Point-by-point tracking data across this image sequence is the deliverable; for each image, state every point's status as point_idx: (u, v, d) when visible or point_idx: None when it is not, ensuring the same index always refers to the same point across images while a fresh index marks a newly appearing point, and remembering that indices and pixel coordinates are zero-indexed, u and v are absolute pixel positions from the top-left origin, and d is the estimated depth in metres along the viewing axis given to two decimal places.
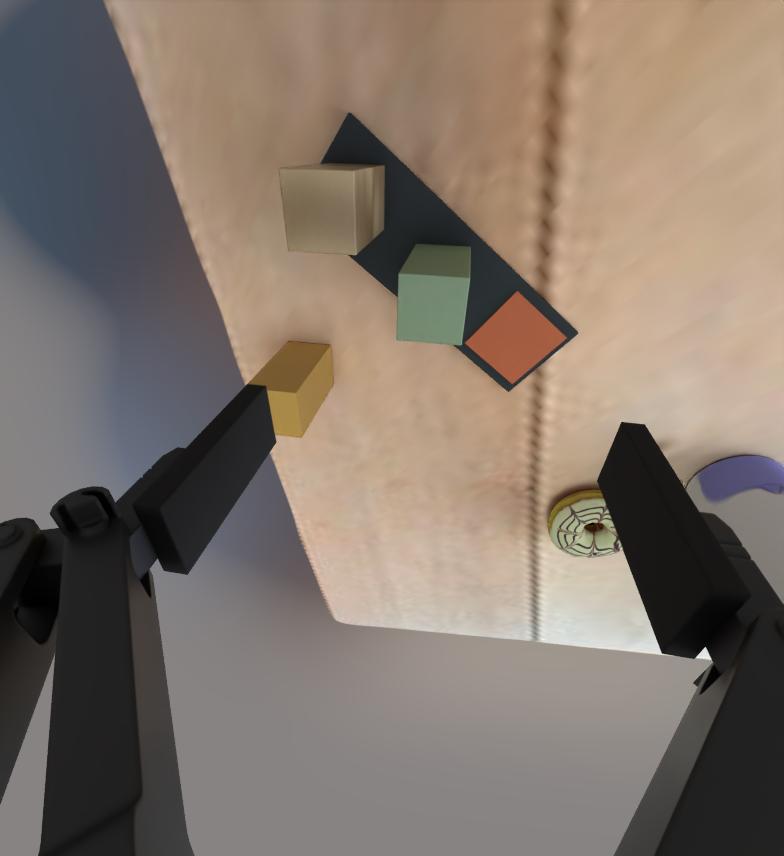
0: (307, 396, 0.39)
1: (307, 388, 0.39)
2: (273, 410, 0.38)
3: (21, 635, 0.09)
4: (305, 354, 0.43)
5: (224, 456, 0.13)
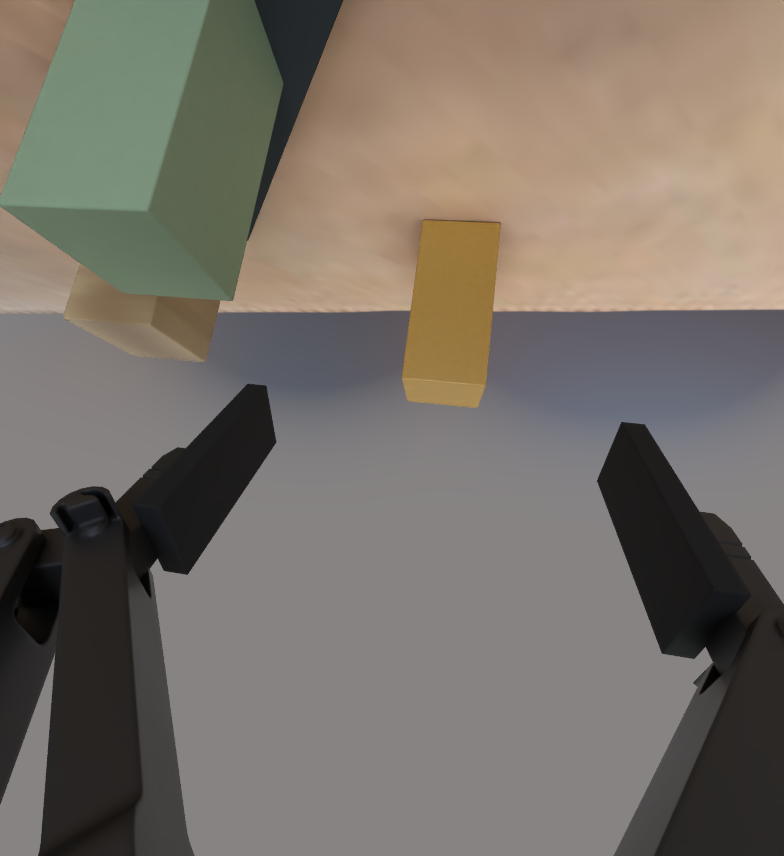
0: (437, 339, 0.25)
1: (424, 335, 0.25)
2: (436, 393, 0.26)
3: (21, 635, 0.09)
4: None
5: (224, 456, 0.13)
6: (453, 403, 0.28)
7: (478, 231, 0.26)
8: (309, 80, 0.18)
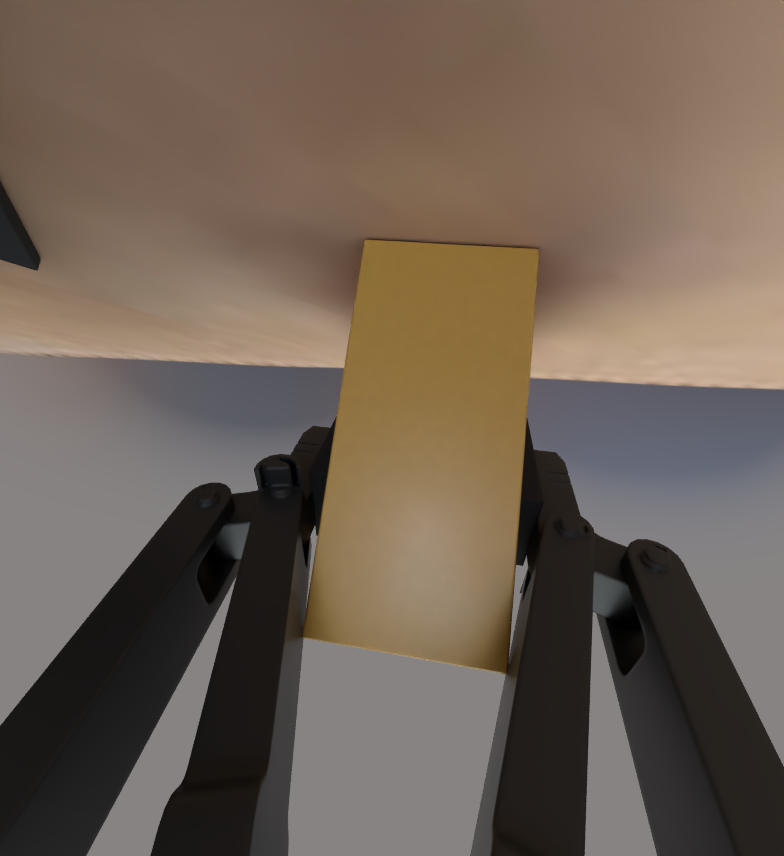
0: (389, 539, 0.10)
1: (359, 526, 0.10)
2: None
3: (197, 593, 0.10)
4: None
5: None
6: None
7: (488, 268, 0.11)
8: None
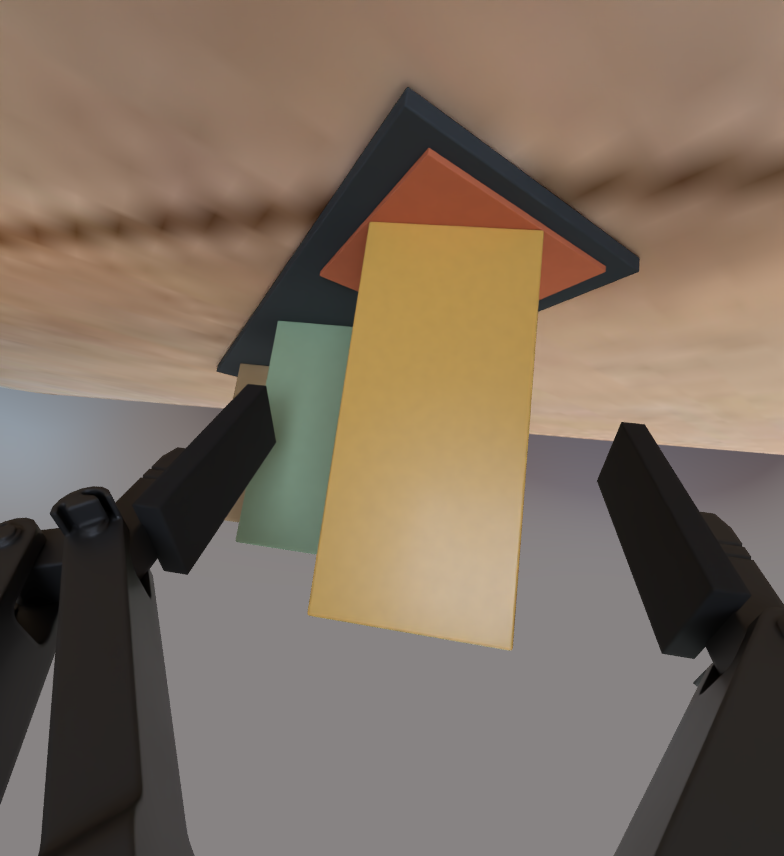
0: (394, 518, 0.10)
1: (365, 504, 0.10)
2: None
3: (22, 634, 0.09)
4: None
5: (224, 456, 0.13)
6: None
7: (493, 249, 0.11)
8: None
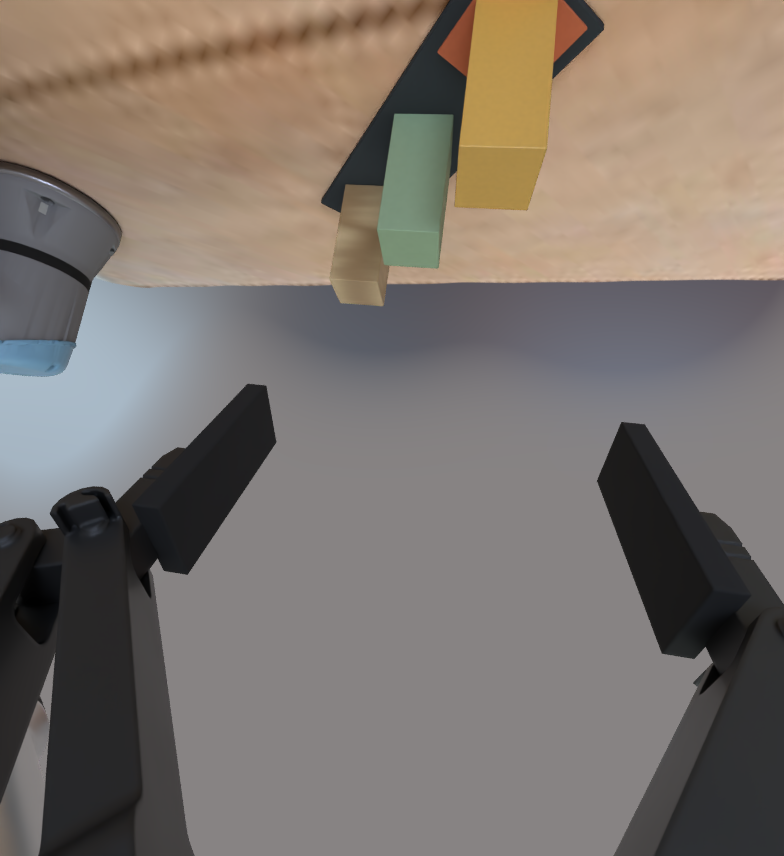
0: (495, 108, 0.24)
1: (481, 105, 0.24)
2: (489, 180, 0.26)
3: (22, 635, 0.09)
4: None
5: (224, 456, 0.13)
6: (503, 202, 0.27)
7: (535, 4, 0.25)
8: None
